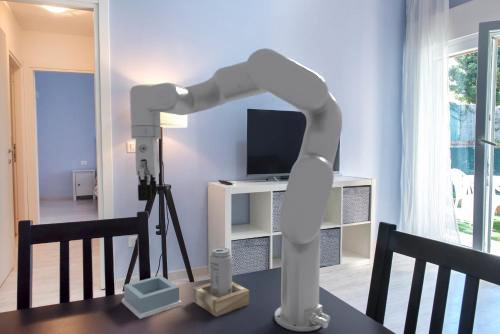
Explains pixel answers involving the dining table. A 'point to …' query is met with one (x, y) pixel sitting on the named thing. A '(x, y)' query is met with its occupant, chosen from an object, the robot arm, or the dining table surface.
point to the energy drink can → (220, 272)
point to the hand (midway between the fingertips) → (147, 197)
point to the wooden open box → (221, 299)
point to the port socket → (151, 296)
